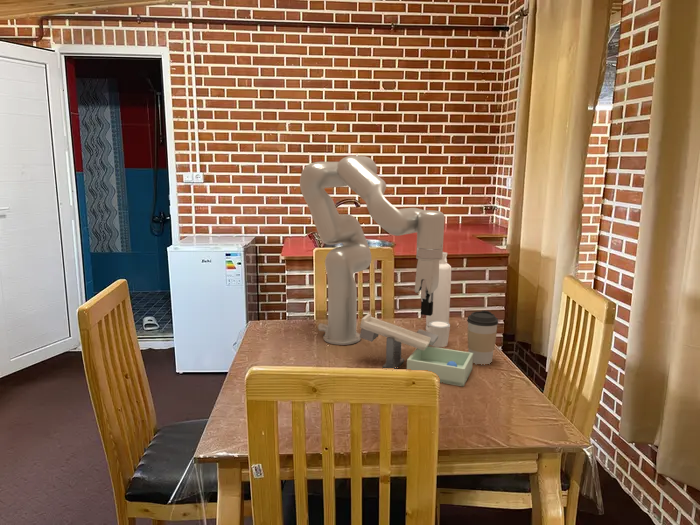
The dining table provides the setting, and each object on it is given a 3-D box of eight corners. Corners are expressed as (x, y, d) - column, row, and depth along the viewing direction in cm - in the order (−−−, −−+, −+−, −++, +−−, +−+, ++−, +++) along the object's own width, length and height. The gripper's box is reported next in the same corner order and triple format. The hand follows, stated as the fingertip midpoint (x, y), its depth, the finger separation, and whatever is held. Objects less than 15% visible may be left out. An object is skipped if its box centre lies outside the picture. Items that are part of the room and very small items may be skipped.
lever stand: (382, 368, 151) (383, 337, 149) (391, 358, 158) (392, 329, 156) (395, 371, 149) (396, 339, 147) (404, 361, 157) (405, 331, 155)
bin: (406, 376, 146) (407, 359, 145) (419, 360, 157) (419, 344, 156) (463, 386, 139) (464, 369, 138) (472, 369, 151) (473, 352, 150)
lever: (357, 336, 154) (362, 318, 152) (371, 325, 164) (375, 308, 162) (424, 361, 147) (429, 342, 145) (434, 348, 157) (439, 330, 155)
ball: (450, 375, 146) (443, 367, 146) (452, 371, 148) (445, 363, 149) (458, 369, 144) (450, 361, 145) (460, 365, 147) (453, 357, 148)
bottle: (446, 334, 180) (450, 255, 175) (423, 331, 183) (426, 254, 178) (450, 327, 188) (454, 252, 182) (428, 325, 191) (431, 250, 185)
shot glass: (449, 348, 167) (450, 327, 166) (427, 346, 169) (428, 326, 167) (449, 341, 174) (450, 321, 173) (428, 339, 175) (429, 320, 174)
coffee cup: (490, 368, 151) (493, 319, 148) (460, 362, 156) (463, 314, 153) (499, 359, 159) (502, 312, 156) (470, 353, 164) (473, 307, 161)
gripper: (423, 248, 158) (421, 306, 161) (409, 256, 144) (407, 319, 148) (448, 250, 155) (445, 309, 159) (435, 259, 141) (432, 323, 145)
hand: (426, 314), depth 153 cm, fingers closed
